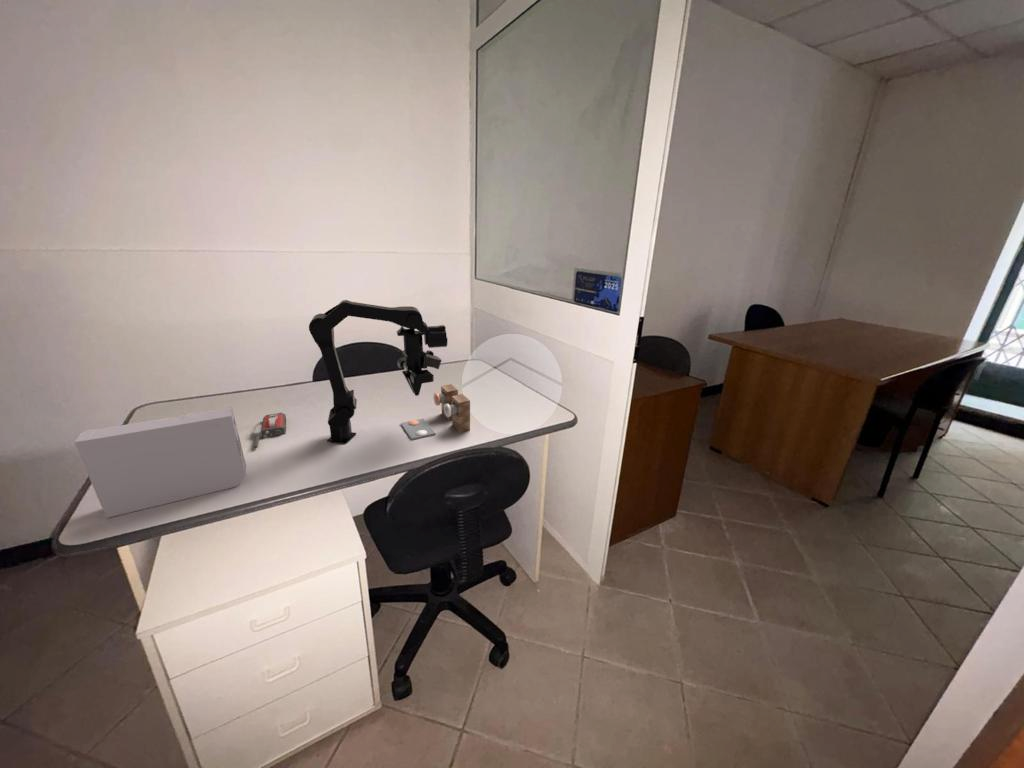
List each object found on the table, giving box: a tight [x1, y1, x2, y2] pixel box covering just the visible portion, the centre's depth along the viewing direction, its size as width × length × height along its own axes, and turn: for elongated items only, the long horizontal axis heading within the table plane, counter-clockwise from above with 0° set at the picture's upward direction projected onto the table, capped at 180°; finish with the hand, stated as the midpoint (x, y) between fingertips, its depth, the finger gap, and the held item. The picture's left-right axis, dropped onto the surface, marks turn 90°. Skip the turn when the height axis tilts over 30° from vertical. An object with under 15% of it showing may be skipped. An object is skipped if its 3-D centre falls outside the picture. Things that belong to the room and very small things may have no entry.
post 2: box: [451, 393, 471, 433], centre depth 135 cm, size 4×6×11 cm, turn 31°
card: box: [400, 418, 436, 441], centre depth 134 cm, size 8×12×1 cm, turn 31°
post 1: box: [440, 383, 459, 421], centre depth 143 cm, size 4×6×11 cm, turn 31°
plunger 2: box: [444, 404, 458, 417], centre depth 133 cm, size 7×4×4 cm, turn 121°
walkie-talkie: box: [252, 412, 287, 449], centre depth 127 cm, size 9×4×20 cm
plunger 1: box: [433, 392, 446, 406], centre depth 141 cm, size 7×4×4 cm, turn 121°
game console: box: [74, 406, 247, 519], centre depth 95 cm, size 6×27×20 cm, turn 122°
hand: (416, 394), depth 129 cm, fingers closed
